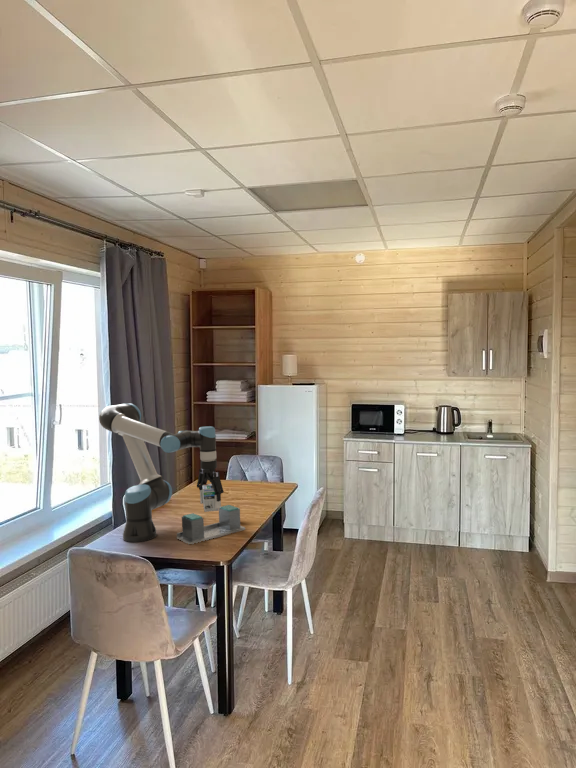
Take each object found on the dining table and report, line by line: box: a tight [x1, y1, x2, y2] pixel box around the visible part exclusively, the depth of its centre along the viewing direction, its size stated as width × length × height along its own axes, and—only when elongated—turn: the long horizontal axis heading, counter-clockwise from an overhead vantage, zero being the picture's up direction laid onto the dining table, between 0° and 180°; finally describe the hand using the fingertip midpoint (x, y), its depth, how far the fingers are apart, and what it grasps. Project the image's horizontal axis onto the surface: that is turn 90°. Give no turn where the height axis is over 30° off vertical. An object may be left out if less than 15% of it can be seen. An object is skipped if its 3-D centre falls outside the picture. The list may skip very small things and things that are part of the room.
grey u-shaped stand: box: [176, 504, 246, 545], centre depth 260 cm, size 30×12×11 cm, turn 130°
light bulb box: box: [202, 483, 219, 513], centre depth 259 cm, size 11×7×11 cm, turn 11°
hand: (210, 505), depth 259 cm, fingers closed on light bulb box, 12 cm apart
